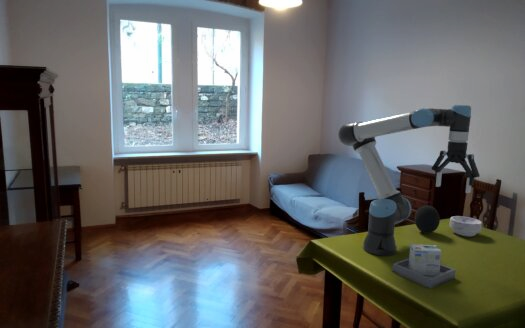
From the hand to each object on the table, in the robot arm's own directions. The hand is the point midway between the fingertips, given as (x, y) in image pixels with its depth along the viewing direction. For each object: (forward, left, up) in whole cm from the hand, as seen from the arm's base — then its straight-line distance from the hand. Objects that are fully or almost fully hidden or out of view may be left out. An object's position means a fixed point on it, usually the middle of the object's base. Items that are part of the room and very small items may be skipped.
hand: (452, 189), depth 171 cm
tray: (+5, -24, -32) cm, 40 cm away
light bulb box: (+5, -24, -31) cm, 40 cm away
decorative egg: (-25, +24, -32) cm, 47 cm away
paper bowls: (-13, +41, -32) cm, 54 cm away
